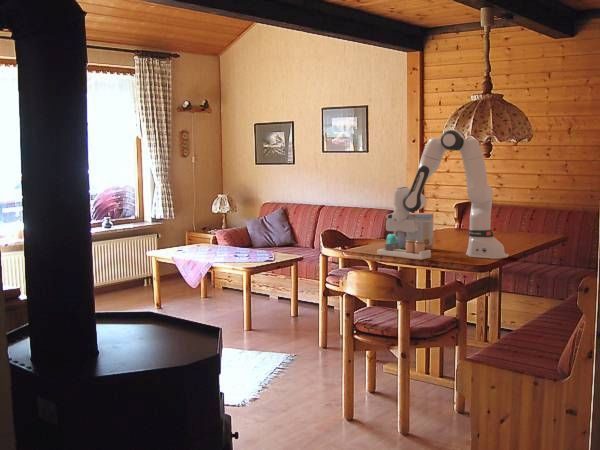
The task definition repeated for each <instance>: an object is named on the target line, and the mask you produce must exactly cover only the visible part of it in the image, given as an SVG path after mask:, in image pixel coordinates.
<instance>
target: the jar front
mask: <svg viewBox="0 0 600 450" xmlns="http://www.w3.org/2000/svg"><path fill="white" fill-rule="evenodd" d="M421 251H425V249H424V241H415V247H414V254H419V252H421Z"/></svg>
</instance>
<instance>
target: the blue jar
mask: <svg viewBox="0 0 600 450" xmlns="http://www.w3.org/2000/svg"><path fill="white" fill-rule="evenodd" d="M397 234H398V242H399V247H402V248H403V247H404V248H406V240H405V237H406V236H407V232H403V231H398V233H397Z"/></svg>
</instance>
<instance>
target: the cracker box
mask: <svg viewBox="0 0 600 450" xmlns="http://www.w3.org/2000/svg"><path fill="white" fill-rule="evenodd" d="M410 216H415V217H416V218H417V223H418V232H415V233H413V232H411V234H410V236H409V240H416V241H424V251H426V250H431V251H432V250H433V249H434V213H430V212H429V213H428V212H410Z"/></svg>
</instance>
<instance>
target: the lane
mask: <svg viewBox="0 0 600 450" xmlns="http://www.w3.org/2000/svg"><path fill="white" fill-rule="evenodd" d="M431 251H432V250H424V251H421V252H419V254H412V253H406V249H402V248H400V249H393V251H386V250H385V248H380V249H377V250H376V255H380V256H387V257H388V256H389V257H396V258H403V259H404V258H405V259H413V260H425V259H430V258H432V253H431Z"/></svg>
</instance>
